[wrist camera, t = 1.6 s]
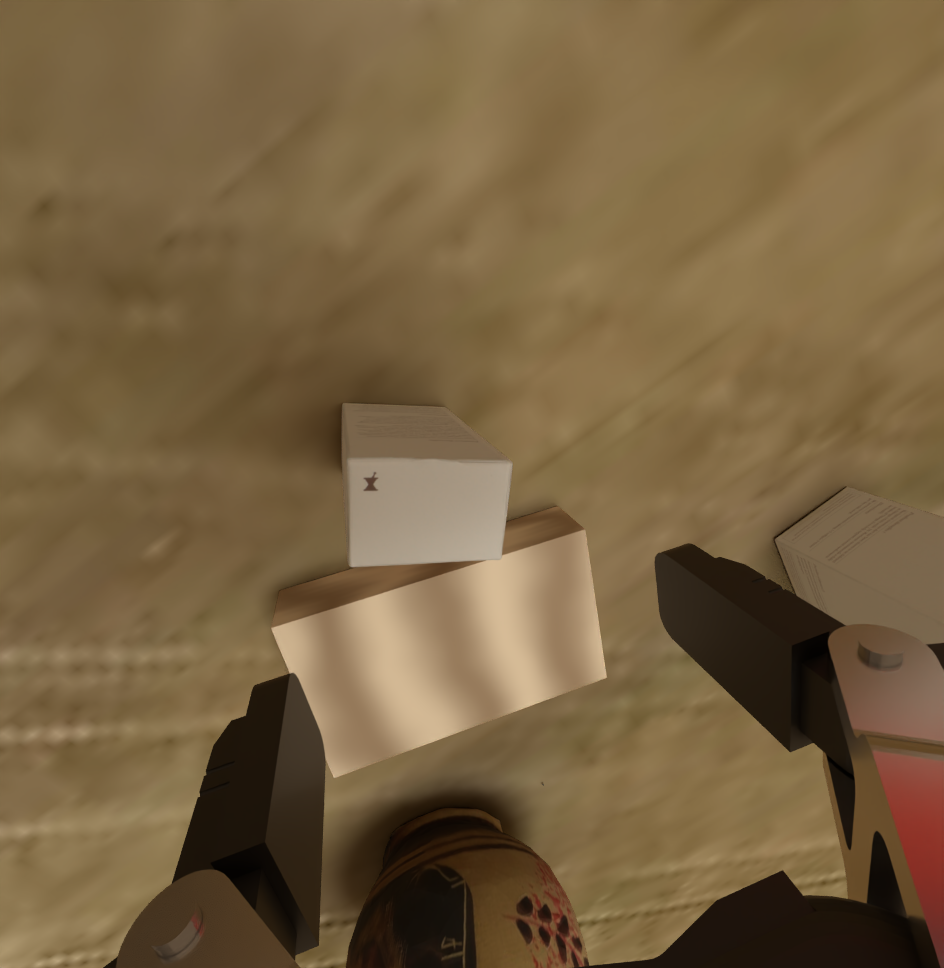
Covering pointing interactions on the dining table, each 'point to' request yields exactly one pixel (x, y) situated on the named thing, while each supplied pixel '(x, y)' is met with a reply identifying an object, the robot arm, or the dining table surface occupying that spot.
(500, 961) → the ceramic jug
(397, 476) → the skincare box
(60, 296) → the dining table surface
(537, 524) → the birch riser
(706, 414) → the dining table surface
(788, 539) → the supplement box
